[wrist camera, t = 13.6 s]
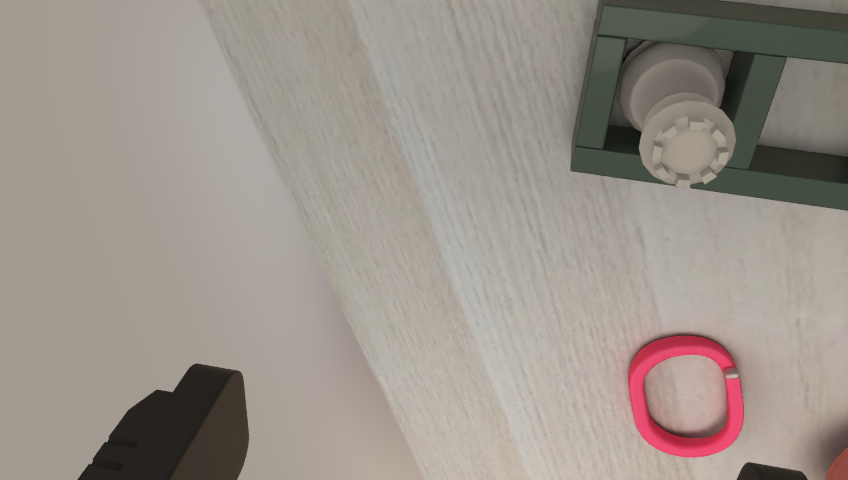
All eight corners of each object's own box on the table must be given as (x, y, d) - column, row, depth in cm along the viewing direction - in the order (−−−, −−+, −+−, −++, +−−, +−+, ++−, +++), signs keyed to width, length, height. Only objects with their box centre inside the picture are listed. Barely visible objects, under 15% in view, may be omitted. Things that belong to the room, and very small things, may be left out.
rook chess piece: (697, 9, 29) (729, 69, 23) (738, 99, 31) (780, 179, 24) (597, 62, 31) (600, 131, 25) (641, 144, 33) (655, 230, 26)
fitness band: (743, 439, 41) (749, 459, 39) (639, 443, 42) (641, 463, 41) (734, 327, 37) (739, 346, 36) (620, 338, 39) (621, 356, 37)
